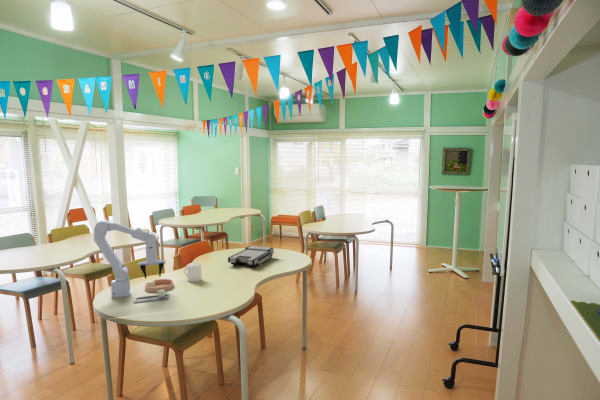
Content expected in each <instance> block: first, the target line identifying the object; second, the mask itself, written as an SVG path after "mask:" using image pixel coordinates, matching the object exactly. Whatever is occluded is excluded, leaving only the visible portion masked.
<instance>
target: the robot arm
mask: <svg viewBox="0 0 600 400" xmlns="http://www.w3.org/2000/svg"><path fill="white" fill-rule="evenodd" d="M112 231H118V232H121V233H123V234H124V233H125V234H127V235H130V237H131V238H132V239H135V240H139V241H141V242H144V243H145V258H146V260H145V261H140V262H138V263H137V265H138V266H137V267H140V268H139V269H140V270H141V271H142V274H143V276H144V279H147V269H146V266H155V265H158V269H159V270H158V272H159V273H158V277H161V275H162V270H163V267H164V265H166V263H167V262H166V259H158V254H157V250H158V249H157V236H156V234H155V233H154V232H151V231H145V230H143V229H141V227H135V228H131V227H129V226H126V225H123V224H121V223H118V222H117V221H116V222H115V220H114V221H113V220H109V219H106V218H104V219H101V220H99V221H98V222H97V223H96V224H95V225H94V228H93V241H94V242H95V244H96V246H97V247H98V249H99V250H100V251H101V253H102V254H103V256H104V257H105V259H106V261H107V263H109V265H110V267H111V269H112V271H113V274H114V278H115V279H113V280H111V283H110V289H111V298H119V297H129V296H131V295H132V293H133V291H132V290H131V281H130V280H131V279H130V276H129V275H128V274H129V273H130V269H129V267H128V266H127V265H125V264H124V263H123V262H122V261H121V260H120V259H119V257H118V255H117V254H116V253H115V251H114V250H113V248H112V246H111V245H110V244H109V242H108V240H107V239H106V235H107V233H108V232H112Z"/></svg>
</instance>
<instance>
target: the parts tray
mask: <svg viewBox="0 0 600 400" xmlns="http://www.w3.org/2000/svg"><path fill="white" fill-rule="evenodd" d="M169 295H170V293H165V296H166V297H165V298H160V299H158V294H154V295H144V296H138V297H134V301H133V304H138V303H146V302H157V301H164V300H165V301H167V300H169Z"/></svg>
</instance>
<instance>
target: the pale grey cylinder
mask: <svg viewBox="0 0 600 400" xmlns="http://www.w3.org/2000/svg"><path fill="white" fill-rule="evenodd" d="M156 293H157V295H158V299H160V298H165V297H166V296H165V294H166V291H165V290H164V289H161V290H158V291H157V292H156Z"/></svg>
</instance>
